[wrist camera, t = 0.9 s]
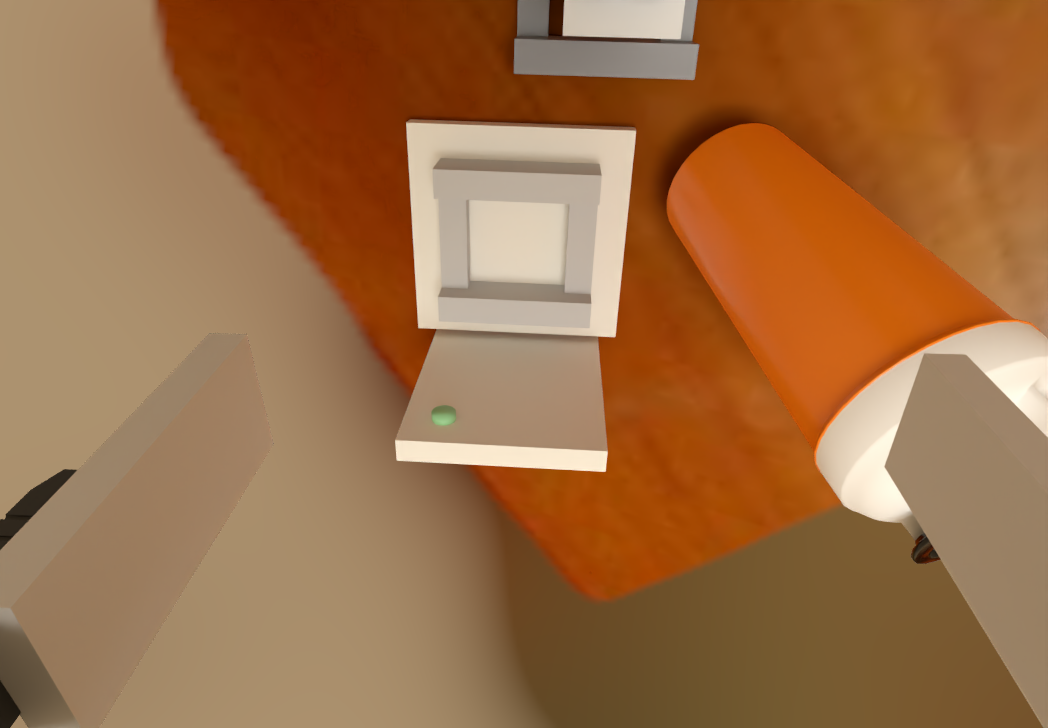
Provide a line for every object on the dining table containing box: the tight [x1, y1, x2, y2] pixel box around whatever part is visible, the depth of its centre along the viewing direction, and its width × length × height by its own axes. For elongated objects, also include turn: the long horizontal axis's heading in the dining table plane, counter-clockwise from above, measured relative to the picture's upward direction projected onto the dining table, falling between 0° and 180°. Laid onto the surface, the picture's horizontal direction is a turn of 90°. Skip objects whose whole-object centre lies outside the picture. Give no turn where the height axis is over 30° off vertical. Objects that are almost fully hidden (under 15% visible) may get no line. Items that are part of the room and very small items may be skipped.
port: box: [395, 119, 636, 472], centre depth 34 cm, size 14×12×12 cm
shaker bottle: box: [667, 123, 1048, 564], centre depth 29 cm, size 9×9×20 cm
